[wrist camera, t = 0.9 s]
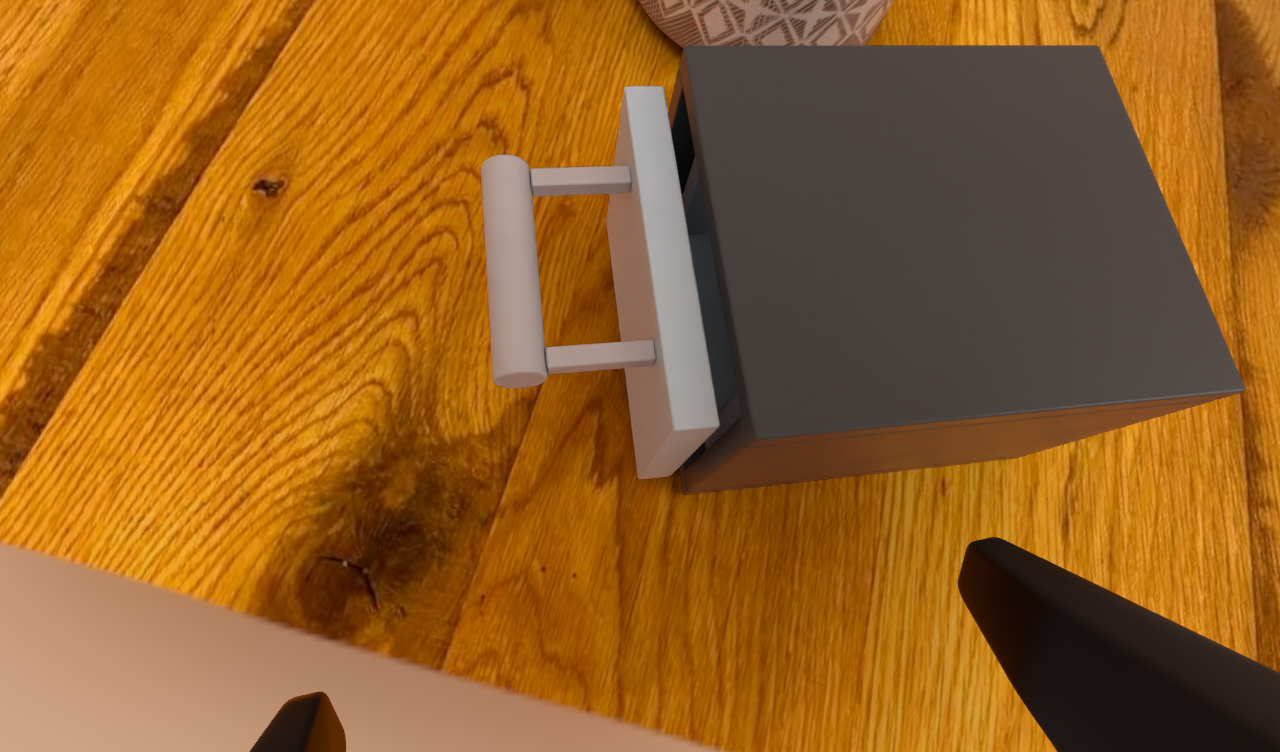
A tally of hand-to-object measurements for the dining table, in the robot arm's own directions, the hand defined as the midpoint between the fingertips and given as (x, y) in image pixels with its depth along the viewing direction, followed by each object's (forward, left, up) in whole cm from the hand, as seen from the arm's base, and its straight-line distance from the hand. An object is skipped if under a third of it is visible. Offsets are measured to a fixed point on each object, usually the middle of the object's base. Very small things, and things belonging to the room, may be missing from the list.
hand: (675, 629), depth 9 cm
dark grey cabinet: (+11, -8, -14) cm, 19 cm away
